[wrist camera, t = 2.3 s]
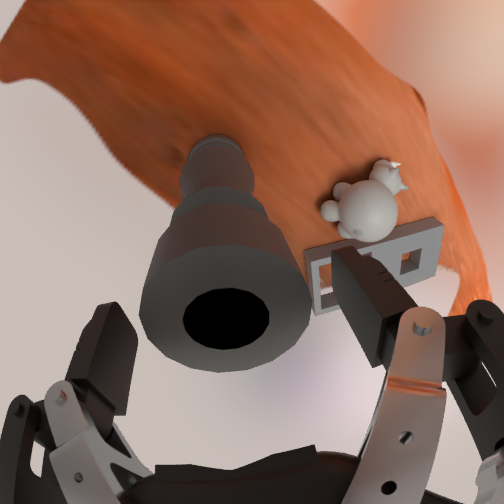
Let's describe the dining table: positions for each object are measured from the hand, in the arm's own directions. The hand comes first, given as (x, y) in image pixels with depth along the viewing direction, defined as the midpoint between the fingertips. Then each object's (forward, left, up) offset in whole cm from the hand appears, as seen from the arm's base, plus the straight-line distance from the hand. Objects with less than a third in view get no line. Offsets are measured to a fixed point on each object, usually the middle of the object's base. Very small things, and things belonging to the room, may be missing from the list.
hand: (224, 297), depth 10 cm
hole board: (+20, +20, -24) cm, 37 cm away
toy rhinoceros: (+7, +17, -24) cm, 30 cm away
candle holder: (0, 0, -24) cm, 24 cm away
